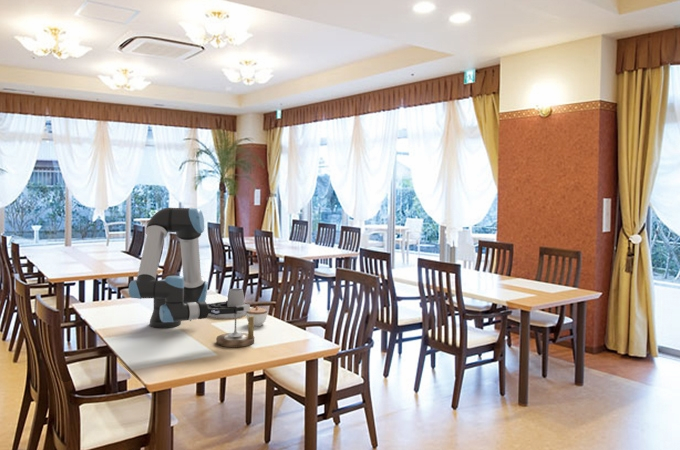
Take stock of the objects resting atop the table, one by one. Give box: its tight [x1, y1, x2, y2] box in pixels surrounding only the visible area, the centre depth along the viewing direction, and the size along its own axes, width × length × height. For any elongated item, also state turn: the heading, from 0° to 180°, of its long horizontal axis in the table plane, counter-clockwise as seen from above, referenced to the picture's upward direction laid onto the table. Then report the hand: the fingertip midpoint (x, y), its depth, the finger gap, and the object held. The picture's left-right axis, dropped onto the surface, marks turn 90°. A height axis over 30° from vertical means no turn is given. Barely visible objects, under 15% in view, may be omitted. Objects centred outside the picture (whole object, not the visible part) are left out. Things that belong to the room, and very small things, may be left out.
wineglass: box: [226, 288, 245, 337], centre depth 241 cm, size 8×8×21 cm
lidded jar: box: [246, 306, 268, 327], centre depth 275 cm, size 11×11×9 cm
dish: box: [208, 301, 248, 319], centre depth 298 cm, size 22×22×5 cm
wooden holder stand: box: [215, 316, 255, 348], centre depth 241 cm, size 17×17×12 cm
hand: (245, 305), depth 243 cm, fingers open, 8 cm apart
